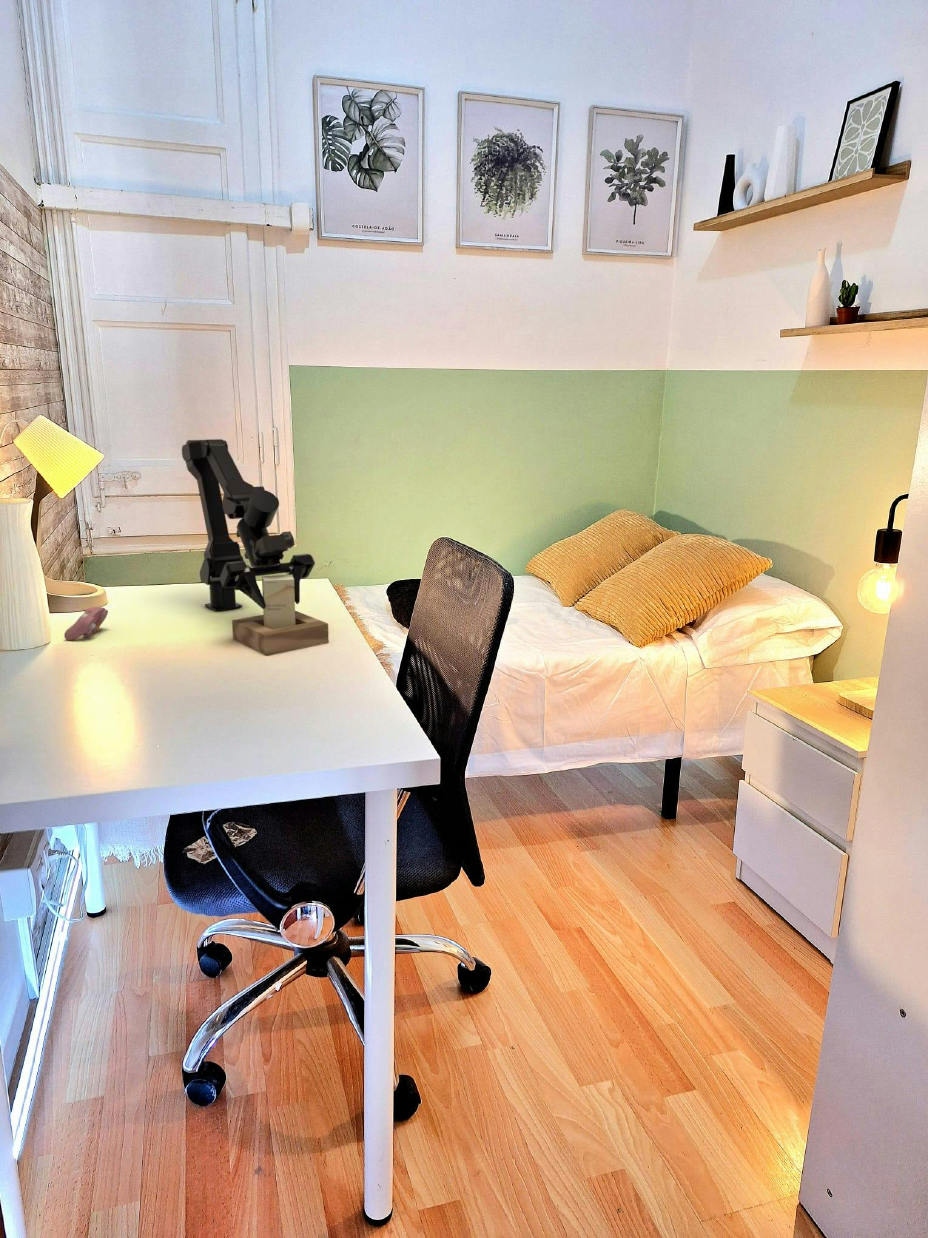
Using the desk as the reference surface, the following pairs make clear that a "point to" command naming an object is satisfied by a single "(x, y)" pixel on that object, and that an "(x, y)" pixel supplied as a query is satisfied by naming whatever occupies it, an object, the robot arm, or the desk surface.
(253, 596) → the robot arm
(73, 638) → the pink toy car
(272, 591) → the skincare box
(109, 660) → the desk surface
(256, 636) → the frame
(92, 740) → the desk surface
